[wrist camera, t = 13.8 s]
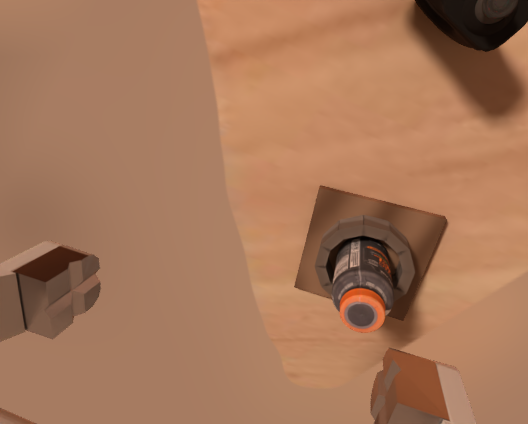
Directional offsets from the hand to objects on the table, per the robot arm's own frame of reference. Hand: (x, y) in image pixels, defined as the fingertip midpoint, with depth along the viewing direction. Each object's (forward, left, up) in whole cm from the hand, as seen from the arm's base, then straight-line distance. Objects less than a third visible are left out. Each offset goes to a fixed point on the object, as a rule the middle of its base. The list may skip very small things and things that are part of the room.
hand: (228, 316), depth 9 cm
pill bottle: (-7, +13, -31) cm, 34 cm away
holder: (-7, +13, -32) cm, 35 cm away
